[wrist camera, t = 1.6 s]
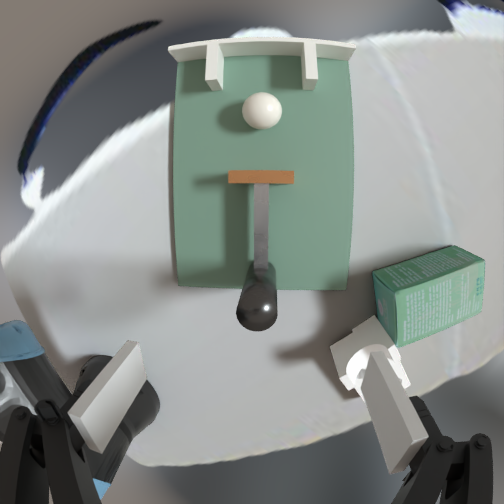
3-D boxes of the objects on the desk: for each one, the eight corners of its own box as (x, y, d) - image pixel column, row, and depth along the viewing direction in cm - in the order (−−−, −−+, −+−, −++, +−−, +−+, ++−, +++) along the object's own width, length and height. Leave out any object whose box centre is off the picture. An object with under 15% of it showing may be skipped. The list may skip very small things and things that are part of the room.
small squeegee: (235, 286, 31) (219, 329, 22) (234, 172, 28) (215, 165, 18) (287, 287, 31) (294, 332, 21) (291, 172, 28) (300, 166, 18)
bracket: (328, 342, 34) (339, 378, 26) (373, 314, 32) (394, 344, 25) (364, 394, 36) (376, 428, 28) (402, 371, 34) (420, 401, 27)
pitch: (180, 283, 33) (168, 297, 29) (180, 60, 26) (168, 46, 22) (344, 287, 31) (354, 302, 27) (346, 59, 25) (355, 44, 21)
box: (368, 270, 31) (392, 294, 24) (452, 243, 29) (486, 257, 22) (374, 321, 32) (395, 352, 25) (454, 291, 31) (483, 312, 23)
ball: (244, 132, 27) (239, 125, 23) (244, 99, 26) (240, 87, 23) (281, 133, 27) (282, 125, 23) (281, 99, 26) (282, 86, 22)
